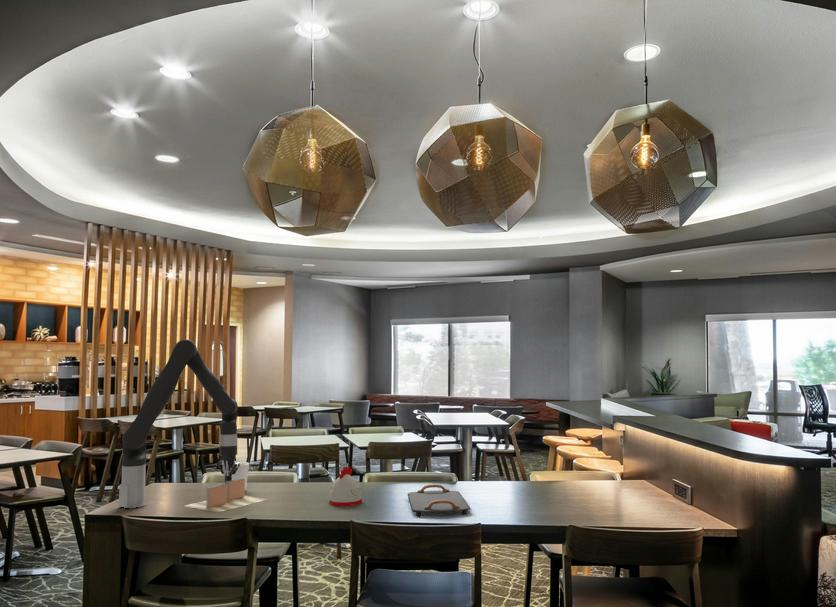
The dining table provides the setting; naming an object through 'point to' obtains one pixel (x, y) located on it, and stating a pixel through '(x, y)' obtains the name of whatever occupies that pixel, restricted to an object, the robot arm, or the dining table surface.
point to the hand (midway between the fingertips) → (228, 484)
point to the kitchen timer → (345, 490)
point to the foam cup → (242, 472)
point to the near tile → (216, 495)
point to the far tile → (235, 489)
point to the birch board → (230, 504)
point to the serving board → (437, 501)
